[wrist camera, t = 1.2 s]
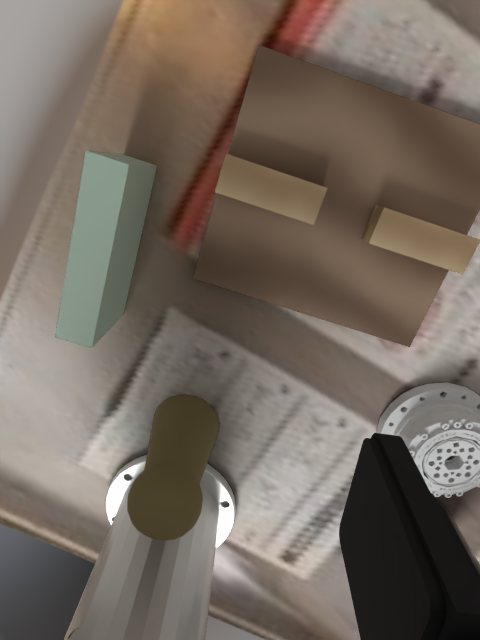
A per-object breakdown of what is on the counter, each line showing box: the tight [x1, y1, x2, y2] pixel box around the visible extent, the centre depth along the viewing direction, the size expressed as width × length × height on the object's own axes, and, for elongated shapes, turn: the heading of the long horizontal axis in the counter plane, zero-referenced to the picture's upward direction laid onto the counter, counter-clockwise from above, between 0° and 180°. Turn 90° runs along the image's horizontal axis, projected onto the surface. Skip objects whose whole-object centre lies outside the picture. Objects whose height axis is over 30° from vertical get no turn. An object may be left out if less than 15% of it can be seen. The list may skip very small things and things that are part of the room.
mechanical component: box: [376, 382, 480, 498], centre depth 35 cm, size 10×4×10 cm
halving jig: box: [193, 45, 480, 347], centre depth 29 cm, size 16×18×3 cm
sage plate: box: [55, 151, 157, 348], centre depth 28 cm, size 12×2×7 cm, turn 162°
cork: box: [127, 395, 220, 541], centre depth 32 cm, size 6×6×11 cm
